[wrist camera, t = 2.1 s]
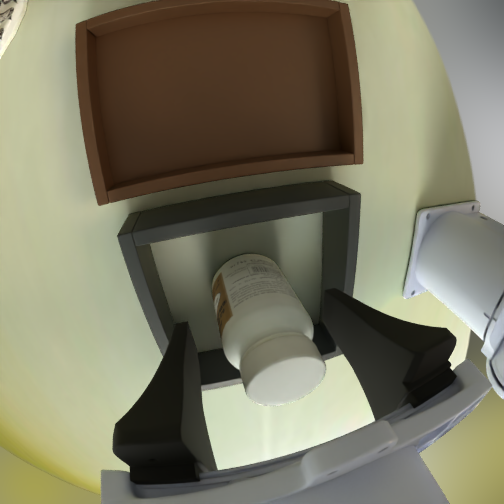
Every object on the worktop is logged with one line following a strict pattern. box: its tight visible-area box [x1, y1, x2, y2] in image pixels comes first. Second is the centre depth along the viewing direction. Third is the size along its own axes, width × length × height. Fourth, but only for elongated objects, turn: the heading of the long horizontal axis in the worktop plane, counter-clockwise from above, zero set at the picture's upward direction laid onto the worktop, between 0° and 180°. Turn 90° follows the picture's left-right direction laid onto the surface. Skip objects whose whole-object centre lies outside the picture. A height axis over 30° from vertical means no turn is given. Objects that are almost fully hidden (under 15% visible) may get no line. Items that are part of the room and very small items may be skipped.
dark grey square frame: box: [117, 180, 361, 391], centre depth 16 cm, size 11×11×3 cm
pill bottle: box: [212, 254, 326, 406], centre depth 13 cm, size 4×4×8 cm
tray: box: [75, 0, 363, 206], centre depth 11 cm, size 13×9×2 cm
